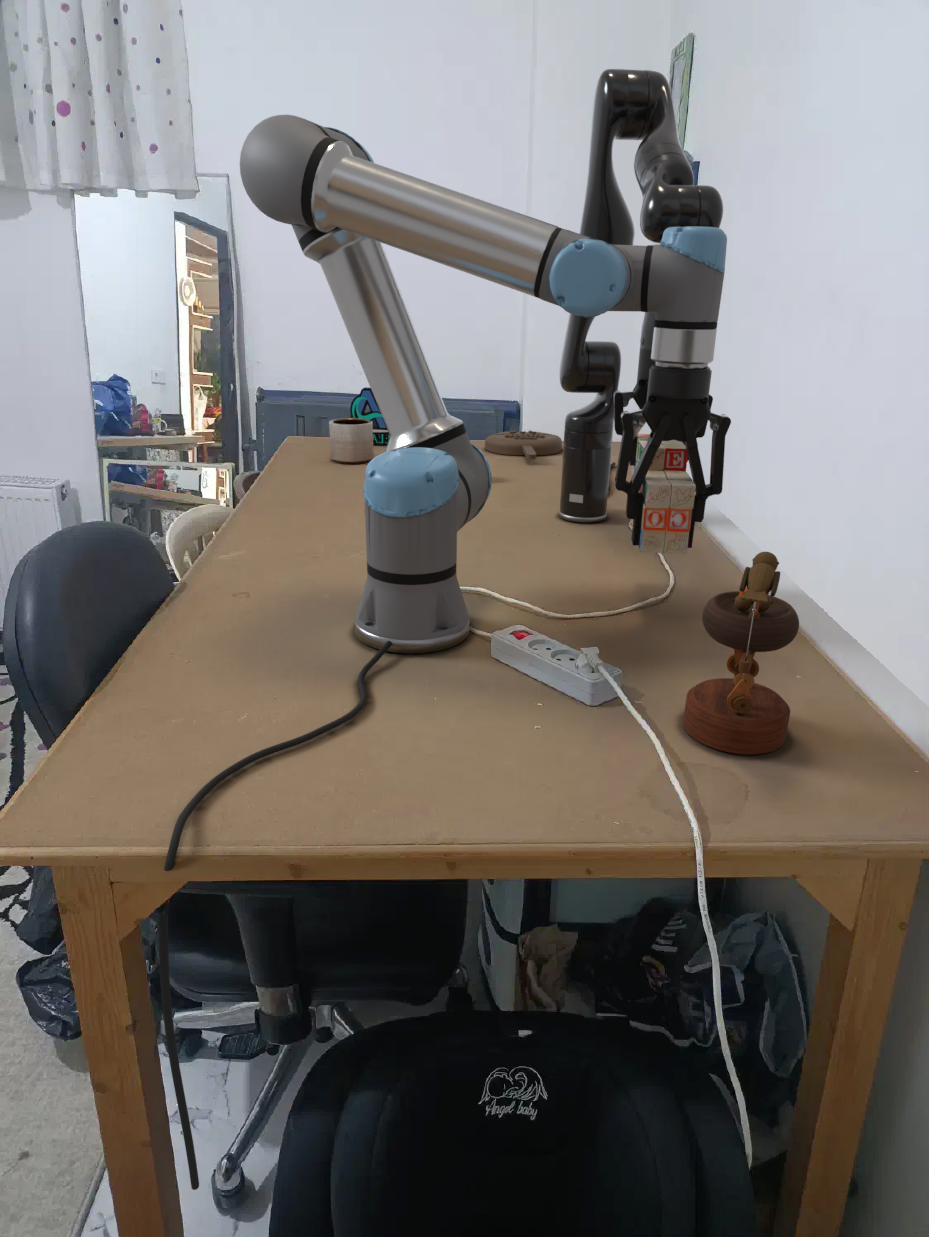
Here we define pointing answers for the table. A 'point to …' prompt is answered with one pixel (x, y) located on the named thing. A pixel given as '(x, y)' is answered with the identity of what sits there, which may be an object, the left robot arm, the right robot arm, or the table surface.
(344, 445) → the planter
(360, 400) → the decorative sign
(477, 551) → the table surface
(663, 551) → the stack of blocks
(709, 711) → the music box
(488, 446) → the ice cream bar
